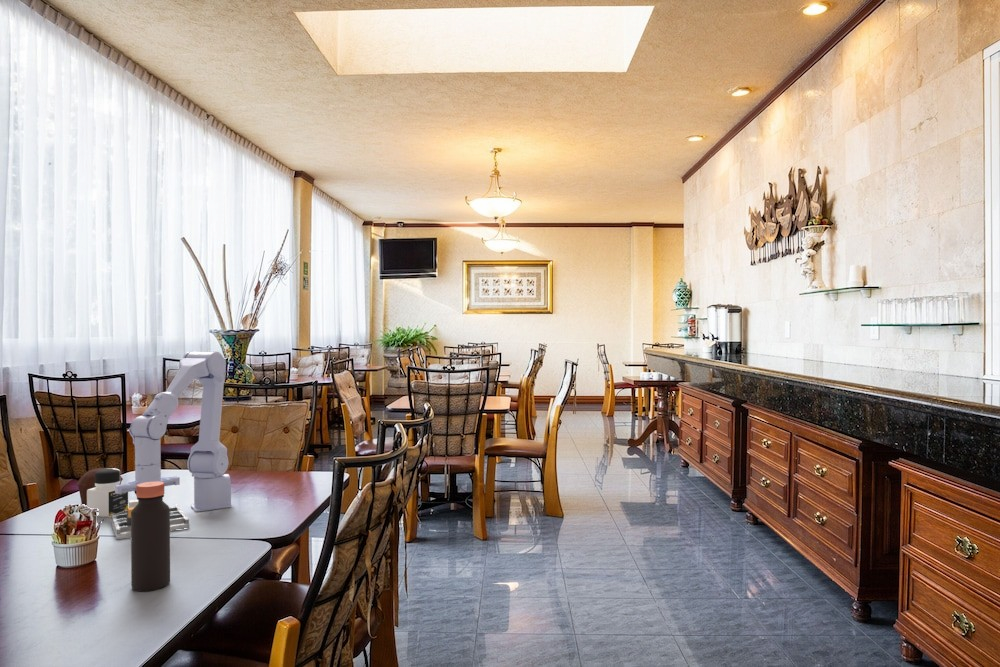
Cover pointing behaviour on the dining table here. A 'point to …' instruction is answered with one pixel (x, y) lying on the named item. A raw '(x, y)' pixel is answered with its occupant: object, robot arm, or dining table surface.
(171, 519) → the gray compartment tray
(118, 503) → the medicine bottle
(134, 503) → the white fader
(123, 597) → the dining table surface
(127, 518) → the orange fader
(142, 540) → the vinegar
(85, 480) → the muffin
